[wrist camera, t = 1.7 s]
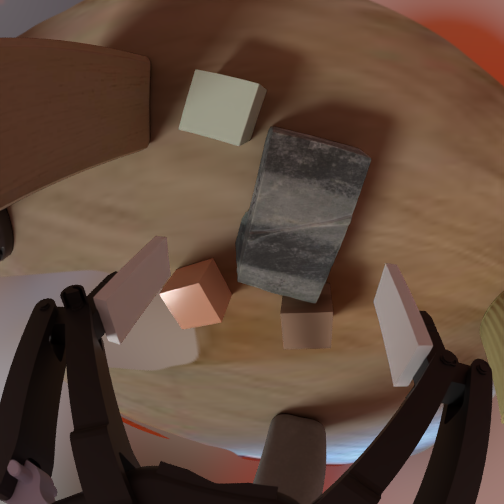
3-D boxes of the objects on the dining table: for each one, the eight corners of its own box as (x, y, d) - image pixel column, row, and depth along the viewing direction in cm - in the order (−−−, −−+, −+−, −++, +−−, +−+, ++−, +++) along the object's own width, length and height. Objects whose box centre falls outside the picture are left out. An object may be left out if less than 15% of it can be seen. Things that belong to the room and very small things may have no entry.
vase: (294, 440, 48) (275, 566, 22) (249, 420, 46) (215, 561, 20) (341, 422, 43) (334, 569, 17) (296, 399, 41) (272, 573, 14)
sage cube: (199, 125, 24) (178, 129, 20) (214, 76, 22) (195, 69, 17) (250, 140, 24) (238, 146, 20) (267, 90, 22) (259, 83, 17)
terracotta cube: (196, 302, 34) (182, 329, 30) (176, 269, 32) (159, 293, 28) (232, 293, 32) (221, 322, 28) (213, 257, 31) (198, 283, 26)
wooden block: (81, 73, 22) (-74, 92, 5) (154, 55, 21) (-28, 32, 4) (83, 153, 27) (-63, 221, 10) (153, 148, 26) (-21, 228, 8)
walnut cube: (286, 318, 33) (283, 349, 29) (284, 284, 31) (280, 313, 26) (328, 317, 32) (330, 348, 28) (329, 282, 30) (333, 311, 25)
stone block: (234, 256, 30) (221, 283, 26) (264, 120, 23) (255, 122, 19) (314, 278, 30) (315, 308, 25) (359, 148, 23) (373, 156, 18)
